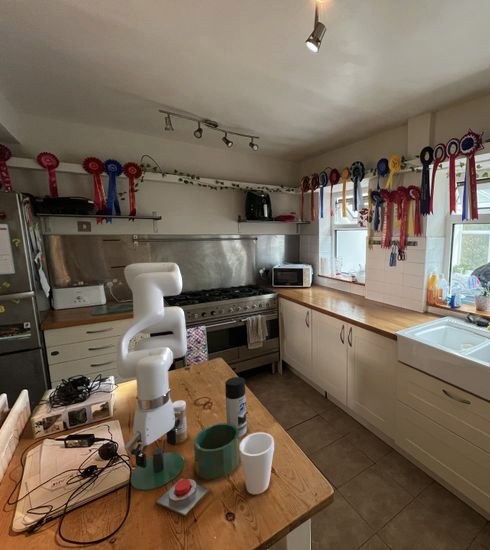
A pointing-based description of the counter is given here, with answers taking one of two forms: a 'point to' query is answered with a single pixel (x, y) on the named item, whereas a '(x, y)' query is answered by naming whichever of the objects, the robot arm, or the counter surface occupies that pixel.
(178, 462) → the pot lid
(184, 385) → the counter surface
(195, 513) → the counter surface
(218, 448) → the green pot
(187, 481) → the button
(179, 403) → the sprinkles bottle
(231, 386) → the spray can
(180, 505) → the grey mounting plate
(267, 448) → the foam cup
